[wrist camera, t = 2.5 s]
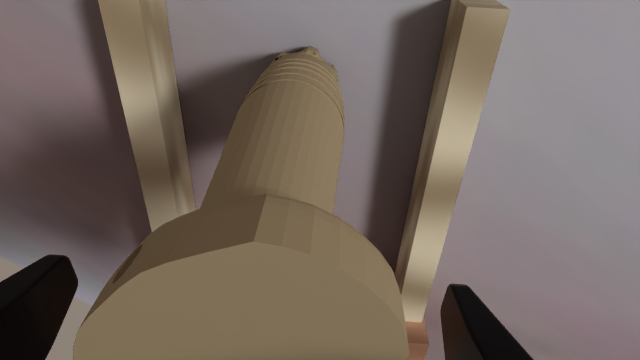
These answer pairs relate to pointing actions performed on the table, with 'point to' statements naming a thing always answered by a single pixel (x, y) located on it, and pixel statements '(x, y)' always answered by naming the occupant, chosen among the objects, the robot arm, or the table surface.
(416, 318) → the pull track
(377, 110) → the table surface
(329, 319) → the handle
